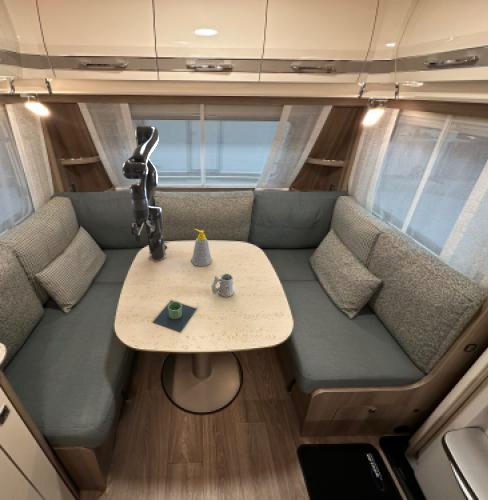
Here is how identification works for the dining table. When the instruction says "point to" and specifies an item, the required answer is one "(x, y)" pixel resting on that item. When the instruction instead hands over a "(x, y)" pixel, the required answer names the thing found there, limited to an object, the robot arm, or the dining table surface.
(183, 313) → the placemat
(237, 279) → the dining table surface
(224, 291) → the mug
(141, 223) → the robot arm
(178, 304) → the green cup
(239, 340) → the dining table surface
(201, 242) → the soap bottle
